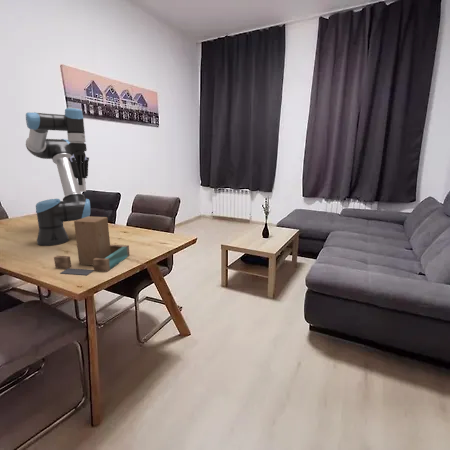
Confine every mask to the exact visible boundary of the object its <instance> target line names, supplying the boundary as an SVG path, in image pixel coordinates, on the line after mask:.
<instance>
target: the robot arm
mask: <svg viewBox="0 0 450 450" xmlns="http://www.w3.org/2000/svg"><path fill="white" fill-rule="evenodd" d="M25 122H26V123H25V124H26V126H27V129H29V135H28V138H27V139H25V147H26V149H27V151H28V152H29V153H30V154H31V155H33V156H34V157H36V158H40V159H43V160H45V159H46V160H52V162H53V164H55V165H56V167H57V172H58V176H59V179H60V183H61V188H62V191H63V195H64V197H63V198H62V200H61V199H60V198H51V199H50V198H49V199H46V200H42V201H39V202H37V203H36V204H35V213H36V217H37V224H38V233H37V237H36V242H37V243H36V244H37V245H38V246H42V247H43V246H57V245H60V244H65V243H67V242H68V241H69V234H68V233H67V231H66V229H65V228H64V223H65V222H74V221H76V220H79V219H82V218H85V217H88V216H90V215H91V201H90V199H89V198H86V196H85V195H84V194H83V193H82V192H87V186H86V179H88V176H89V161H90V157H87V156H86V152H87V144H86V142H87V141H86V134H85V132H86V131H85V123H84V113H83V110H81V109H80V108H76V107H75V108H74V107H73V108H72V107H71V108H70V107H68V108H65V110H64V114H56V113H55V114H54V113H45V112H44V113H43V112H42V113H41V112H35V111H34V112H26V113H25ZM49 131H58V132H59V131H60V132H66V134H67V139H65V138H60V139H59V138H56V139H55V138H47V137H48V136H47V135H48V132H49Z"/></svg>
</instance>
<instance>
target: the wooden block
mask: <svg viewBox="0 0 450 450" xmlns="http://www.w3.org/2000/svg"><path fill="white" fill-rule="evenodd" d="M108 219H109V218H108V217H107V216H92V215H91V216H88V217H85V218H82V219H79V220H75V221H73V225H74V233H75V239H76V248H77V255H78V257H77V258H78V265H84V266H94V264H93V259H95V258H106V257H107V256H109V255H111V249H110V245H111V241H110V231H109V221H108Z"/></svg>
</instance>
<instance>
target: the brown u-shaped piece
mask: <svg viewBox="0 0 450 450" xmlns="http://www.w3.org/2000/svg"><path fill="white" fill-rule="evenodd" d="M110 249H111V255H109V256H107V257H106V258H95V259H93V264H94V265H93V270H94V271H96V272H109V271H110V270H111V269H113V268H114V267H116V266H117V265H118V264H120V263H121V262H123V261H125V259H127V258H128V257H129V256H130V245H128V244H127V245H126V244H125V245H123V244H110ZM53 258H54V259H53V260H54V266H55V269H63V270H66V269H68V268H72V262H71V256H69V255H56V256H54V257H53ZM94 271H93V272H94Z"/></svg>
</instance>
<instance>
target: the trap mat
mask: <svg viewBox="0 0 450 450" xmlns="http://www.w3.org/2000/svg"><path fill="white" fill-rule="evenodd" d="M93 272H94V269H84V268H82V269H81V268H73V267H71V268H68V269H63V271H61V272H60V273H59V274H60V275H61V274H63V275H74V276H88V275H90V274H92V273H93Z"/></svg>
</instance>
